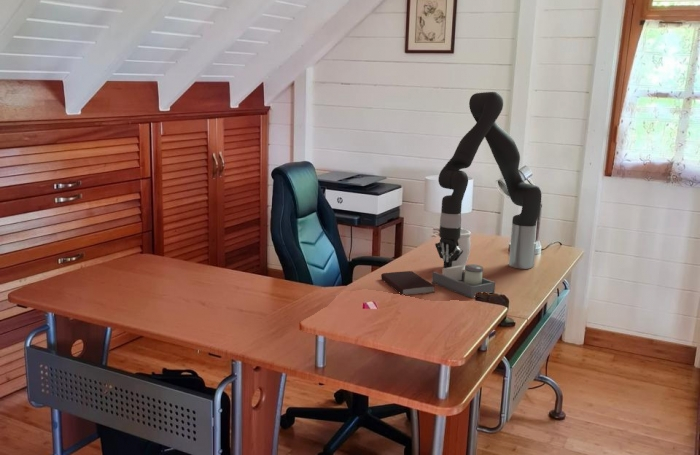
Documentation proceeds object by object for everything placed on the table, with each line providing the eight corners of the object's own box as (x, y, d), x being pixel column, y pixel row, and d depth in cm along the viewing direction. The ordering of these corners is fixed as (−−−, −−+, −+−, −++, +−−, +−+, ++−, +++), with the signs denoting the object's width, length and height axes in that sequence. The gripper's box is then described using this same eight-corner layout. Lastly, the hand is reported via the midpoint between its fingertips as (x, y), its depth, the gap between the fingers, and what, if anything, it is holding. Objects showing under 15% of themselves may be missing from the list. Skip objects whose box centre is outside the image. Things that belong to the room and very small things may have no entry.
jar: (460, 273, 259) (463, 235, 255) (437, 268, 265) (439, 231, 261) (473, 268, 267) (476, 231, 264) (450, 263, 273) (452, 227, 270)
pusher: (458, 278, 249) (459, 265, 248) (461, 279, 248) (462, 266, 246) (441, 281, 244) (442, 268, 243) (444, 282, 243) (445, 269, 242)
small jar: (459, 288, 238) (461, 265, 236) (472, 285, 242) (474, 263, 240) (472, 293, 233) (473, 270, 231) (485, 290, 236) (486, 267, 235)
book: (401, 297, 231) (402, 287, 230) (380, 280, 249) (381, 272, 248) (434, 294, 235) (435, 285, 234) (411, 278, 253) (412, 270, 252)
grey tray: (455, 278, 253) (455, 268, 252) (494, 293, 237) (495, 282, 236) (432, 282, 246) (432, 272, 246) (470, 298, 230) (471, 287, 229)
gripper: (430, 222, 247) (427, 268, 251) (455, 229, 236) (451, 277, 240) (445, 220, 251) (443, 265, 255) (470, 227, 240) (467, 274, 244)
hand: (447, 271), depth 247 cm, fingers closed
